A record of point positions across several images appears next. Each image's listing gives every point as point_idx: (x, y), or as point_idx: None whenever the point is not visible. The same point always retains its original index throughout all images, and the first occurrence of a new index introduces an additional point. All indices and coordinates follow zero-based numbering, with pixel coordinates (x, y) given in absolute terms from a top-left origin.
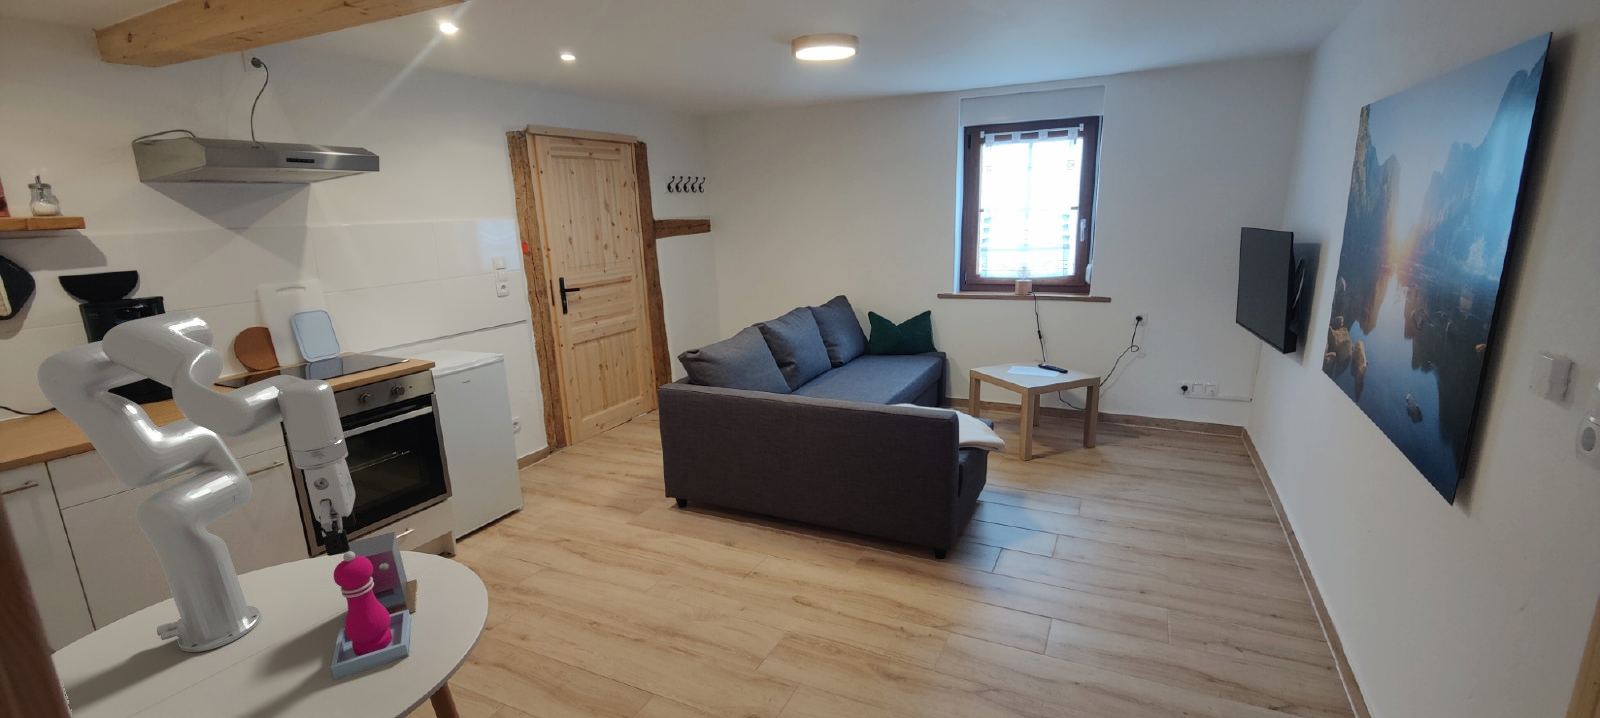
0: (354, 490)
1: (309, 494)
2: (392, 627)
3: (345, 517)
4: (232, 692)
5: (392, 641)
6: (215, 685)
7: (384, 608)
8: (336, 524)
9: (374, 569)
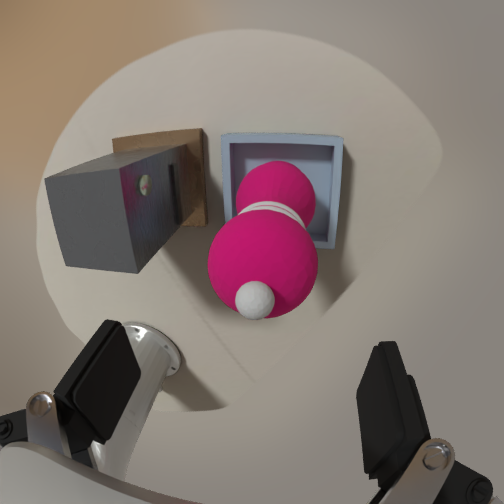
0: (4, 460)
1: None
2: (241, 161)
3: (110, 379)
4: (278, 336)
5: (286, 160)
6: (252, 350)
7: (270, 173)
8: (132, 385)
9: (146, 205)
